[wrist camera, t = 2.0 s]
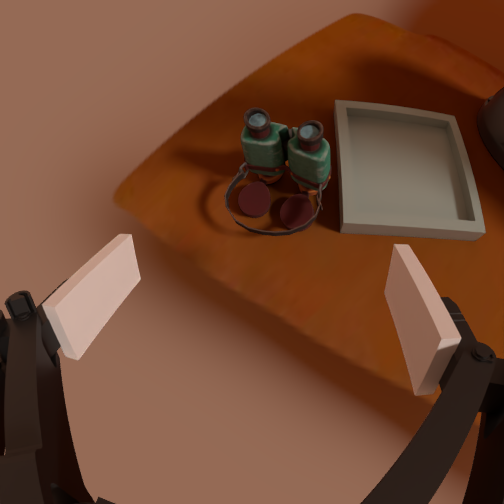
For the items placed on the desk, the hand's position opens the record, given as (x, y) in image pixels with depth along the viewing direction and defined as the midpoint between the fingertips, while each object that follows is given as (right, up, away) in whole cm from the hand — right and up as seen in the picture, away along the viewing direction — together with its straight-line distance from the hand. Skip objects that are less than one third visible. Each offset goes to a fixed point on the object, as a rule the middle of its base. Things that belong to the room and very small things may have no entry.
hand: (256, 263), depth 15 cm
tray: (+17, +10, +17) cm, 26 cm away
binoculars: (+3, +5, +17) cm, 18 cm away
